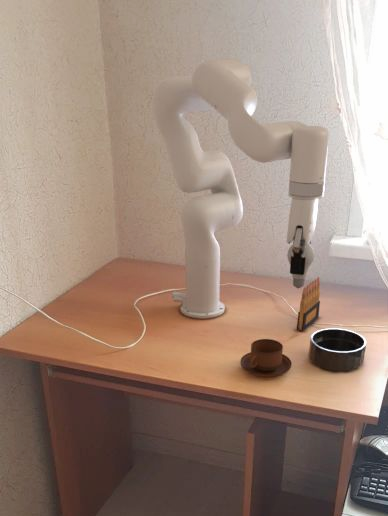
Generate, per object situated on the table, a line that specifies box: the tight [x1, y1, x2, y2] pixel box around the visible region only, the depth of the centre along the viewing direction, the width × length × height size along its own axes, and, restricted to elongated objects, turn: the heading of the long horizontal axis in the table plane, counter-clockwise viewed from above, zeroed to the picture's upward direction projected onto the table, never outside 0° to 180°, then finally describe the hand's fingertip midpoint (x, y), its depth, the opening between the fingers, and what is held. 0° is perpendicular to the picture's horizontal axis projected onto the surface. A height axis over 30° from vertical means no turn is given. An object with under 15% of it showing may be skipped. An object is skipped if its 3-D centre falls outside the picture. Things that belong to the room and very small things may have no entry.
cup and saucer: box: [240, 338, 292, 378], centre depth 147 cm, size 12×12×6 cm
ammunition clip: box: [296, 276, 321, 332], centre depth 167 cm, size 11×2×12 cm, turn 148°
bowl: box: [308, 327, 367, 373], centre depth 151 cm, size 13×13×6 cm
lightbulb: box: [286, 241, 316, 289], centre depth 144 cm, size 6×6×11 cm
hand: (299, 268), depth 144 cm, fingers closed on lightbulb, 6 cm apart
